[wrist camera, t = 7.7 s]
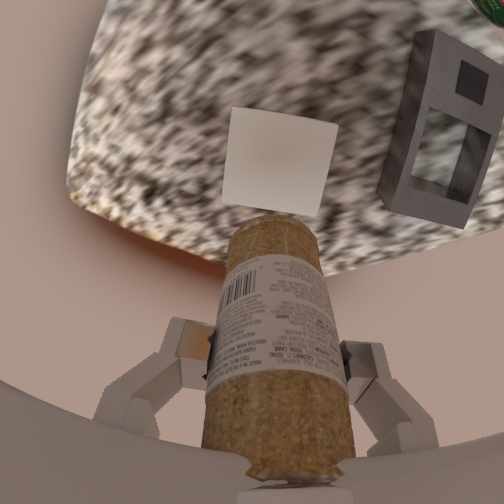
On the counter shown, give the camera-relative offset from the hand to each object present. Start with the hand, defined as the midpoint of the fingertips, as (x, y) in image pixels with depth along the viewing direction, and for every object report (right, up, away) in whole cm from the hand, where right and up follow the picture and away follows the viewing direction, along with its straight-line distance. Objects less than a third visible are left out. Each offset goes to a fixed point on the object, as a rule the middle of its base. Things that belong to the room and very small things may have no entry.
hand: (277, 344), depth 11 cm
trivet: (+1, +11, +16) cm, 20 cm away
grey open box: (+16, +15, +13) cm, 25 cm away
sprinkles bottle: (0, +3, +5) cm, 6 cm away
